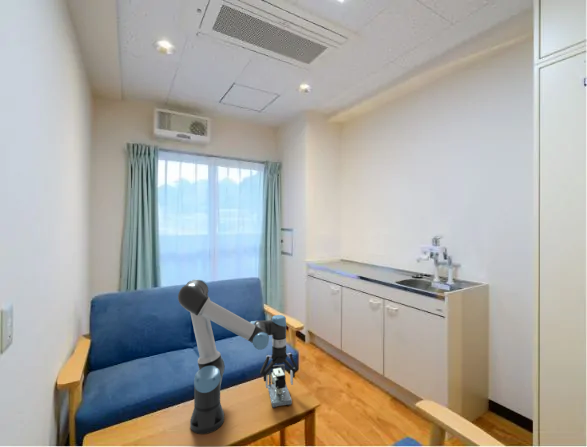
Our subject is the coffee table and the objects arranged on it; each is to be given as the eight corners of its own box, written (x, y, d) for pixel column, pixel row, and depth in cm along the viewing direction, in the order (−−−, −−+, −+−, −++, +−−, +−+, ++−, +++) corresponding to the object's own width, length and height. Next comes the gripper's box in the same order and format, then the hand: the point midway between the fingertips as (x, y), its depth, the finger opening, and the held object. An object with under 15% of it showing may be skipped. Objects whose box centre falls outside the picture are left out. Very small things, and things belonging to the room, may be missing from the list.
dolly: (272, 408, 138) (272, 382, 138) (267, 390, 153) (267, 366, 153) (291, 405, 140) (291, 379, 140) (285, 387, 155) (285, 363, 156)
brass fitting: (271, 384, 159) (271, 375, 159) (270, 380, 163) (270, 372, 163) (278, 383, 160) (278, 374, 160) (277, 379, 164) (277, 371, 164)
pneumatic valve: (279, 385, 152) (280, 363, 153) (286, 398, 141) (286, 374, 141) (270, 387, 151) (270, 365, 151) (275, 400, 140) (275, 376, 140)
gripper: (256, 350, 140) (256, 392, 140) (303, 345, 146) (303, 385, 146) (255, 344, 147) (255, 384, 147) (300, 340, 153) (300, 378, 153)
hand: (279, 385), depth 147 cm, fingers open, 13 cm apart
